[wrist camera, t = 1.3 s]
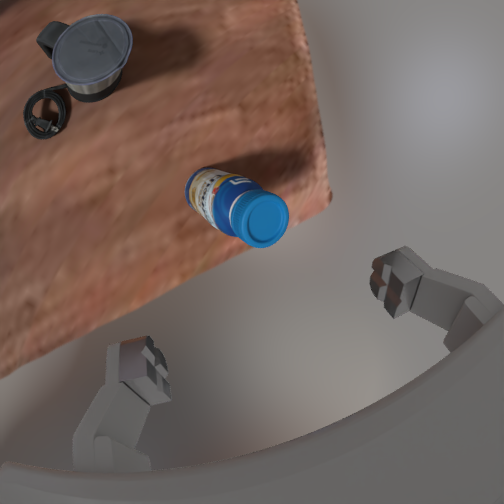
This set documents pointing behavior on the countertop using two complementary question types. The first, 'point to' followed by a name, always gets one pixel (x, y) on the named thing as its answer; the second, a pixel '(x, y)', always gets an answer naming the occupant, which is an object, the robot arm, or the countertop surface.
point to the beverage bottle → (237, 206)
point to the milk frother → (81, 64)
